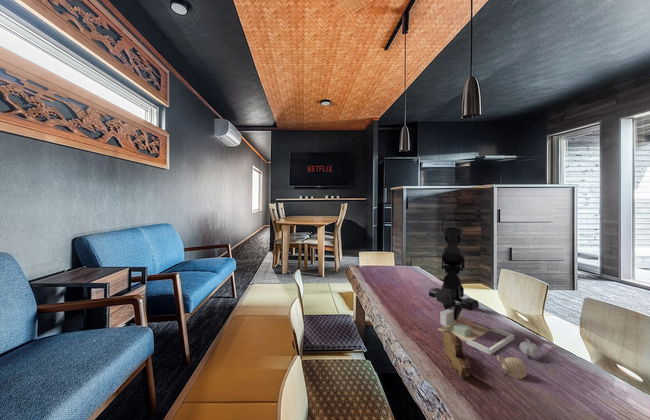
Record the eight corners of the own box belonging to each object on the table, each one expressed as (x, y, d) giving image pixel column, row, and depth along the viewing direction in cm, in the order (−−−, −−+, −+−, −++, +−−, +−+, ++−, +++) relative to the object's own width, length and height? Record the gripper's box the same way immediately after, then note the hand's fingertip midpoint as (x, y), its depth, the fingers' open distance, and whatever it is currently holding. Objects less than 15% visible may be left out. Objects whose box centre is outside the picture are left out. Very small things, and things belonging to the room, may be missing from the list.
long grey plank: (457, 316, 109) (457, 305, 109) (463, 318, 107) (463, 307, 107) (440, 323, 103) (440, 311, 103) (446, 326, 101) (446, 314, 101)
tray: (491, 333, 100) (491, 326, 100) (514, 342, 94) (514, 334, 94) (466, 347, 91) (466, 339, 91) (490, 359, 84) (490, 350, 84)
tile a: (462, 322, 107) (462, 316, 107) (473, 326, 103) (473, 320, 103) (456, 325, 104) (456, 319, 104) (467, 329, 101) (467, 323, 100)
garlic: (516, 349, 90) (517, 334, 90) (536, 352, 88) (536, 338, 87) (521, 358, 84) (521, 343, 84) (542, 362, 82) (542, 347, 82)
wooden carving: (477, 384, 73) (478, 350, 73) (461, 384, 73) (461, 350, 73) (450, 350, 89) (450, 323, 89) (437, 350, 89) (437, 323, 89)
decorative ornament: (530, 380, 74) (531, 362, 74) (498, 376, 76) (498, 358, 76) (523, 371, 78) (524, 354, 78) (493, 367, 80) (493, 351, 80)
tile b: (459, 328, 102) (459, 322, 101) (471, 333, 98) (471, 327, 98) (453, 331, 99) (453, 325, 99) (464, 337, 95) (464, 330, 95)
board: (461, 321, 110) (461, 318, 110) (490, 333, 100) (490, 330, 100) (437, 332, 102) (437, 329, 101) (467, 347, 91) (467, 343, 91)
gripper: (420, 278, 108) (420, 314, 109) (463, 291, 92) (463, 333, 93) (436, 274, 114) (436, 309, 114) (479, 286, 98) (479, 325, 99)
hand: (452, 318), depth 105 cm, fingers closed on long grey plank, 2 cm apart
